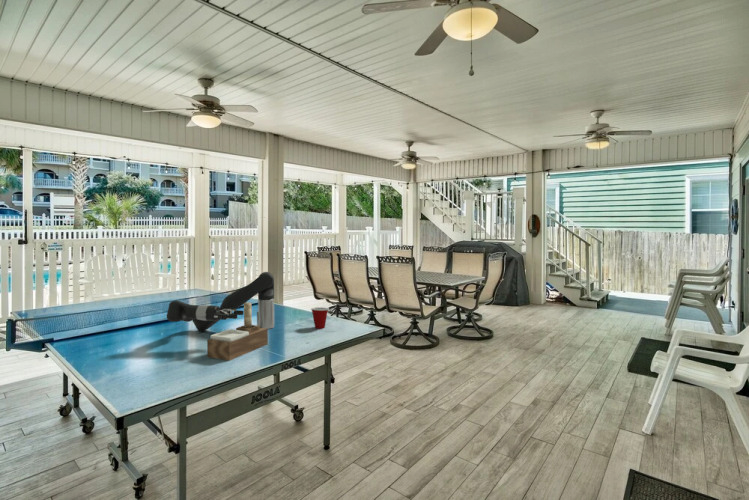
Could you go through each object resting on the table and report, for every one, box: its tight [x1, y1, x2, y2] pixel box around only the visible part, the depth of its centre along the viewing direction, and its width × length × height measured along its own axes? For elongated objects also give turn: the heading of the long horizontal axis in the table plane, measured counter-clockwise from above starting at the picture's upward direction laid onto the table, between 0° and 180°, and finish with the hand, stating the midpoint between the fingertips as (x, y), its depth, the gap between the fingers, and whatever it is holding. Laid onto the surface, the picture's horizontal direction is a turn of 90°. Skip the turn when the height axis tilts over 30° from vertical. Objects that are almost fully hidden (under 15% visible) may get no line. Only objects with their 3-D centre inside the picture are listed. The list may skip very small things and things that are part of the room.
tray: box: [210, 328, 249, 342], centre depth 182 cm, size 12×12×2 cm
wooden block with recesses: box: [206, 324, 269, 361], centre depth 188 cm, size 13×27×10 cm, turn 158°
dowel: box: [243, 302, 253, 329], centre depth 194 cm, size 4×4×14 cm
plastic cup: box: [310, 306, 330, 330], centre depth 232 cm, size 11×11×12 cm
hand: (240, 314), depth 193 cm, fingers open, 8 cm apart
